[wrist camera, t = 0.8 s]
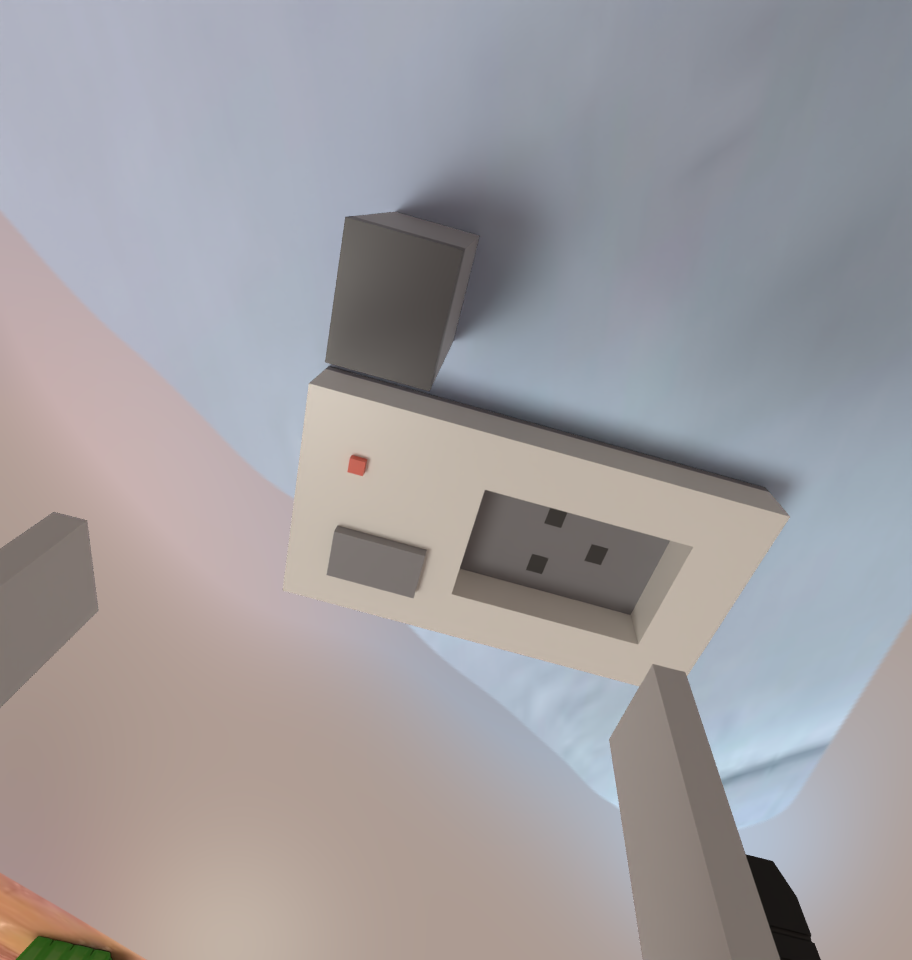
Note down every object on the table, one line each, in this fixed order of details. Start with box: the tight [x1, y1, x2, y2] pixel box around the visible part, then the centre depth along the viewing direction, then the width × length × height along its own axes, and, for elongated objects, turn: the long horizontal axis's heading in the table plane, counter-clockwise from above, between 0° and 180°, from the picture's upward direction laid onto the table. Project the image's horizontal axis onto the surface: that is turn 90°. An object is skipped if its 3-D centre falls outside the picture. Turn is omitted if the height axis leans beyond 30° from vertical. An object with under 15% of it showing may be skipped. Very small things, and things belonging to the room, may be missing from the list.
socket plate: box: [283, 366, 790, 686], centre depth 30 cm, size 13×24×4 cm, turn 76°
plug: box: [325, 212, 480, 391], centre depth 23 cm, size 5×4×8 cm
